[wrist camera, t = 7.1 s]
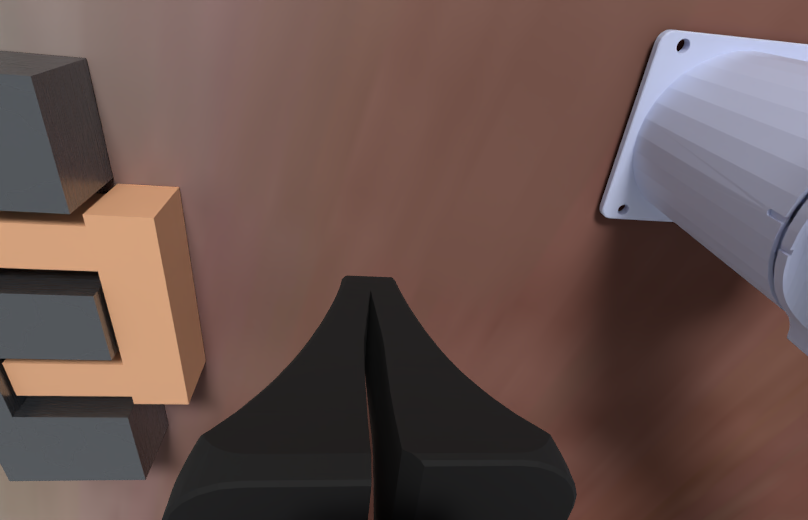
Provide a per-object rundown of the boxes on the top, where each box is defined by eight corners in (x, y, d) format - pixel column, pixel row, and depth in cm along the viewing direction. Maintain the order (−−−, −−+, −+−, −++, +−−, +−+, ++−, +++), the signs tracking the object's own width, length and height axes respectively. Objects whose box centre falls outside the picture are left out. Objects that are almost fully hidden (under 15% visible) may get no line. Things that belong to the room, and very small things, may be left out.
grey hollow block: (85, 58, 18) (30, 76, 15) (168, 425, 28) (145, 479, 25) (-111, 40, 17) (-212, 56, 14) (48, 424, 27) (9, 481, 24)
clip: (179, 187, 21) (153, 218, 18) (205, 361, 26) (188, 404, 23) (-13, 176, 20) (-68, 207, 17) (54, 358, 25) (20, 403, 22)
